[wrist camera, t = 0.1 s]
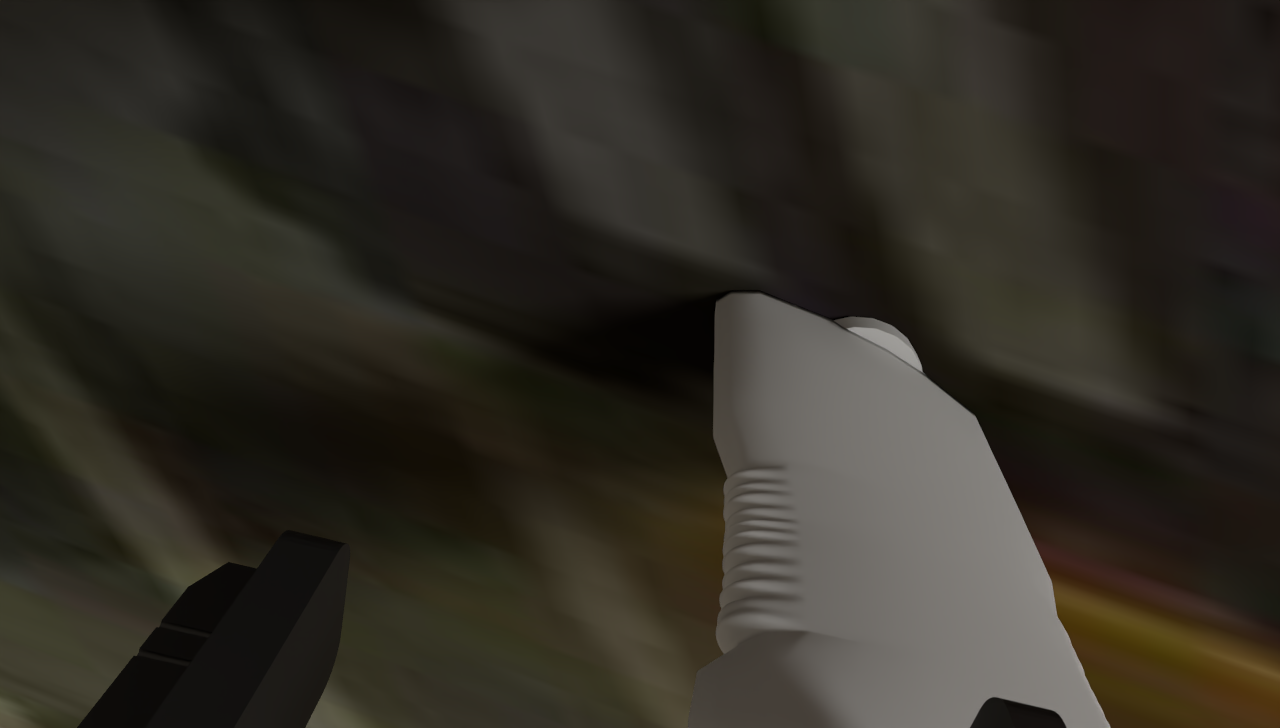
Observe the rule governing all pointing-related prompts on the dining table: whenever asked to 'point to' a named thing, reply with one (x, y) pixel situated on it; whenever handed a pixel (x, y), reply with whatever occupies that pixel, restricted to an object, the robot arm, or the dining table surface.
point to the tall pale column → (866, 541)
